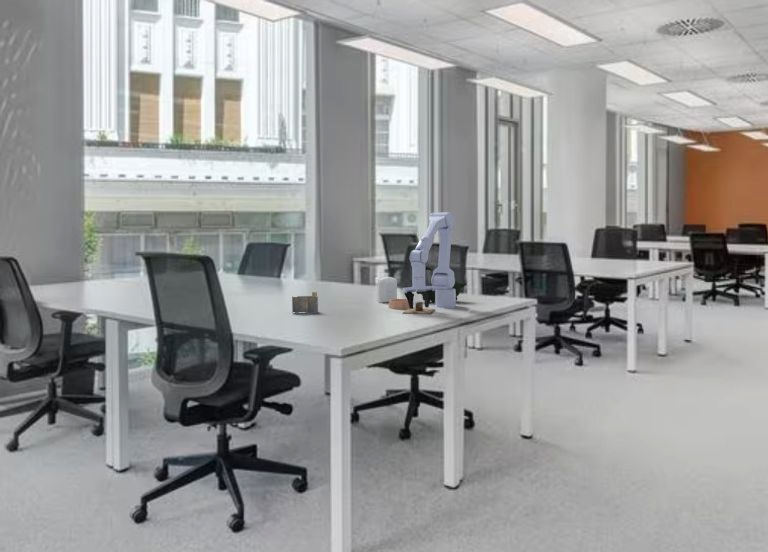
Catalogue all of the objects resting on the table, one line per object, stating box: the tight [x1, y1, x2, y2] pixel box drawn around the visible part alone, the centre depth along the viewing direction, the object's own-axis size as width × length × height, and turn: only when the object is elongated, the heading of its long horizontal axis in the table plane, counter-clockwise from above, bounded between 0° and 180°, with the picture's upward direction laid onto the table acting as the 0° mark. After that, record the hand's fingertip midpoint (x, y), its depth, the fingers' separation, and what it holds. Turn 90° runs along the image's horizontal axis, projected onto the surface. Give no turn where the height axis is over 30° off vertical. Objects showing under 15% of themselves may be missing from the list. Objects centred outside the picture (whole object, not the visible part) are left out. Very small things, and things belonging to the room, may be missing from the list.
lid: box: [402, 301, 436, 315], centre depth 302 cm, size 12×12×4 cm
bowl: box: [388, 298, 409, 310], centre depth 316 cm, size 10×10×4 cm
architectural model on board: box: [291, 291, 319, 313], centre depth 309 cm, size 11×3×10 cm, turn 94°
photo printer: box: [377, 276, 398, 304], centre depth 341 cm, size 10×4×12 cm, turn 123°
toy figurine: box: [416, 265, 467, 303], centre depth 338 cm, size 9×19×25 cm
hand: (419, 308), depth 302 cm, fingers open, 7 cm apart
